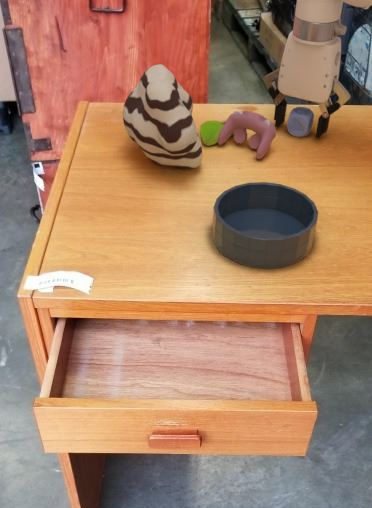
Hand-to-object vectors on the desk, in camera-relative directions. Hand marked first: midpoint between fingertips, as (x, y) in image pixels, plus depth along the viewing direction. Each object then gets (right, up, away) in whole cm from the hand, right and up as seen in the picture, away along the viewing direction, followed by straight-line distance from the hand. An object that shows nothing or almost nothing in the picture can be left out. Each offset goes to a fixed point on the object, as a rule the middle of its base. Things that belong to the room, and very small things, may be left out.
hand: (299, 129), depth 113 cm
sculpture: (-26, -8, -6) cm, 28 cm away
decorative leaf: (-16, -1, 0) cm, 16 cm away
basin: (-10, -26, -23) cm, 36 cm away
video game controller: (-11, -5, -4) cm, 13 cm away
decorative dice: (0, 0, +1) cm, 1 cm away
